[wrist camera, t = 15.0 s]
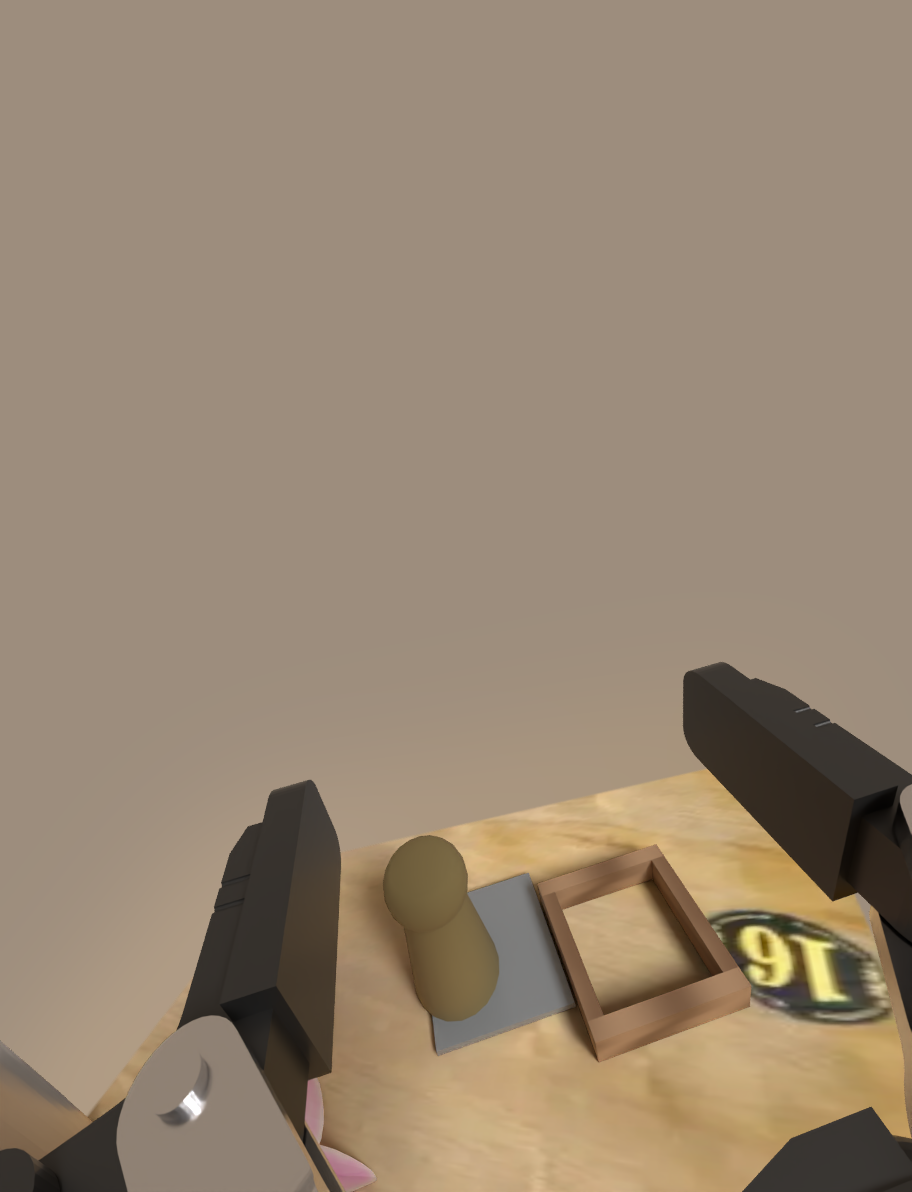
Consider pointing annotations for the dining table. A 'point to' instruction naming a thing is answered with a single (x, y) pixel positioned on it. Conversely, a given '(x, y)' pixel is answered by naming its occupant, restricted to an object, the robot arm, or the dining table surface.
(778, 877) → the dining table surface
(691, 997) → the caddy
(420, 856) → the cork
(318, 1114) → the lily
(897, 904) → the robot arm
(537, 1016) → the plate
